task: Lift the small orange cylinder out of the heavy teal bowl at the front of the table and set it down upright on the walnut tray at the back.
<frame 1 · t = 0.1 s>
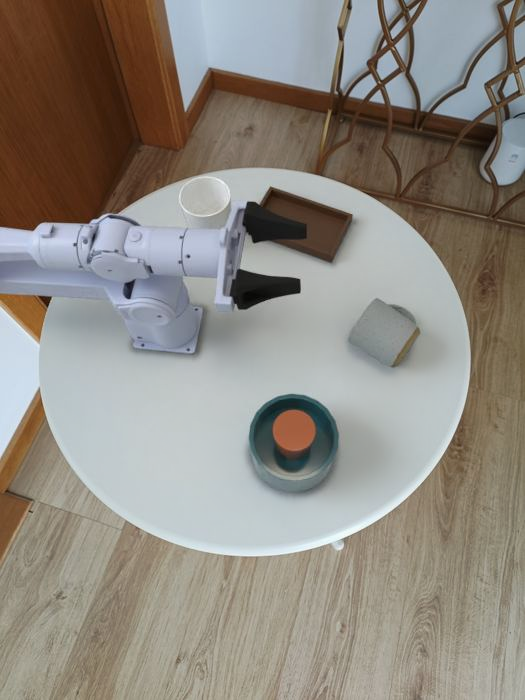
hand: (303, 258, 62), 22 cm above the table, tool horizontal, fingers open, 7 cm apart
white cup: (212, 237, 90), on the table
ceramic mug: (383, 338, 81), on the table
orange cylinder: (292, 443, 70), point 4 cm above the table, touching teal bowl
teal bowl: (292, 451, 74), on the table
tray: (299, 227, 90), on the table
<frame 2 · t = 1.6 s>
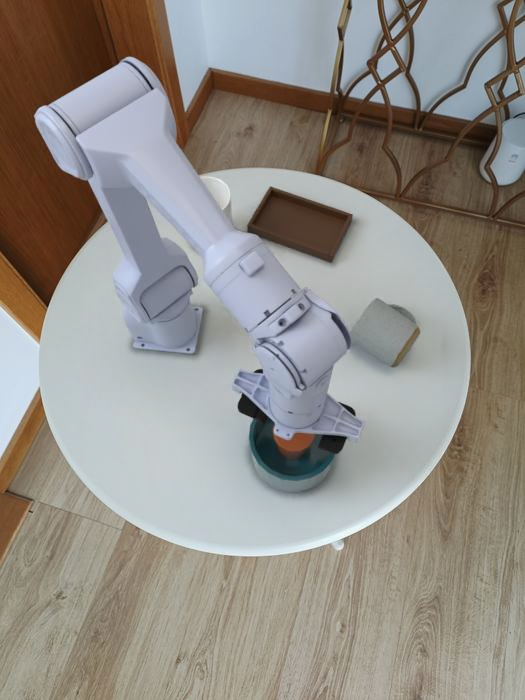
hand: (294, 428, 64), 10 cm above the table, tool pointing down, fingers open, 7 cm apart
nothing on the table moved.
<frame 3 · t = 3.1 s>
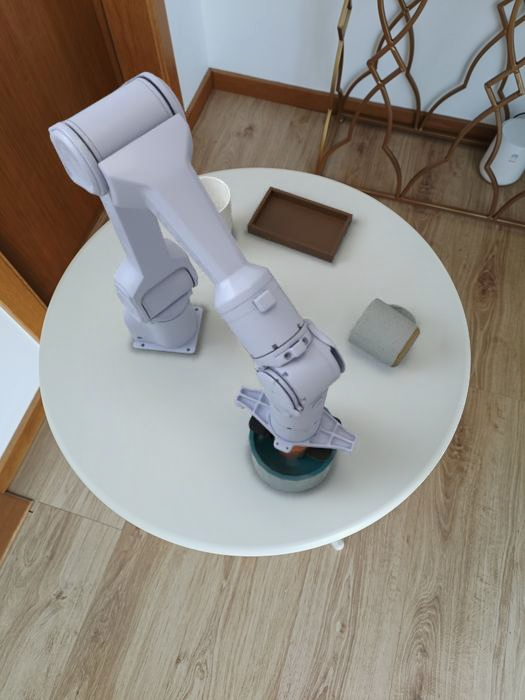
hand: (293, 440, 69), 5 cm above the table, tool pointing down, fingers closed on orange cylinder, 5 cm apart
orange cylinder: (293, 443, 70), point 4 cm above the table, touching teal bowl, gripper
everything else where it was.
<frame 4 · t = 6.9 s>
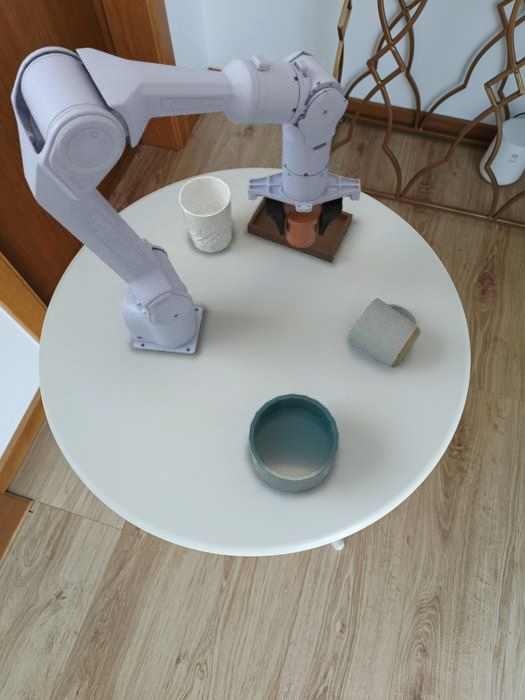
hand: (301, 229, 77), 10 cm above the table, tool pointing down, fingers closed on orange cylinder, 5 cm apart
orange cylinder: (301, 235, 78), point 9 cm above the table, touching gripper
everything else where it was.
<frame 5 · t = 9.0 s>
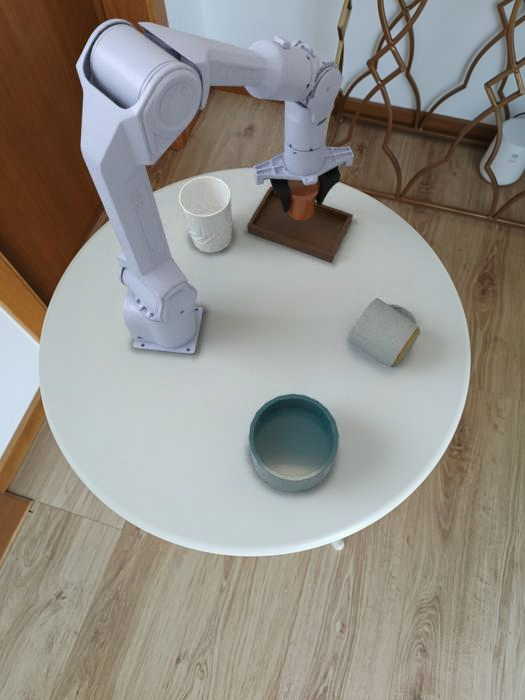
hand: (301, 204, 85), 6 cm above the table, tool pointing down, fingers closed on orange cylinder, 5 cm apart
orange cylinder: (301, 209, 86), point 4 cm above the table, touching gripper
everything else where it was.
when the fingers open (2 cm above the table, at t = 10.7 s): orange cylinder stays where it is, resting on tray.
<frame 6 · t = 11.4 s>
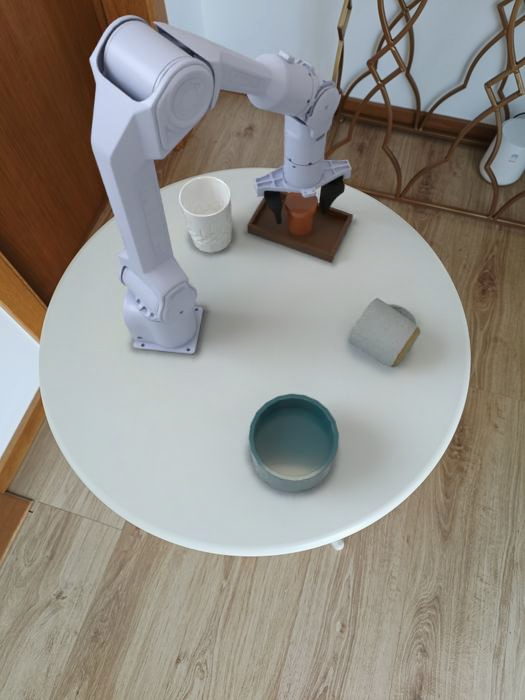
hand: (300, 214, 87), 3 cm above the table, tool pointing down, fingers open, 7 cm apart
orange cylinder: (300, 225, 90), resting on tray
everything else where it was.
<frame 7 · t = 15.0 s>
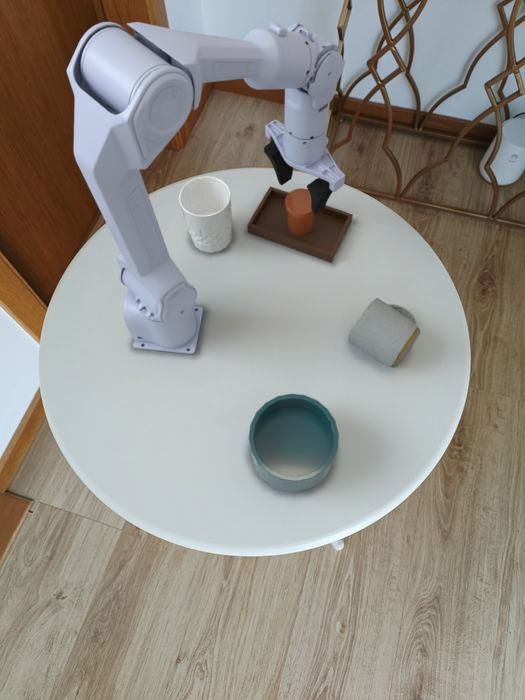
hand: (301, 195, 83), 8 cm above the table, tool pointing down, fingers open, 7 cm apart
nothing on the table moved.
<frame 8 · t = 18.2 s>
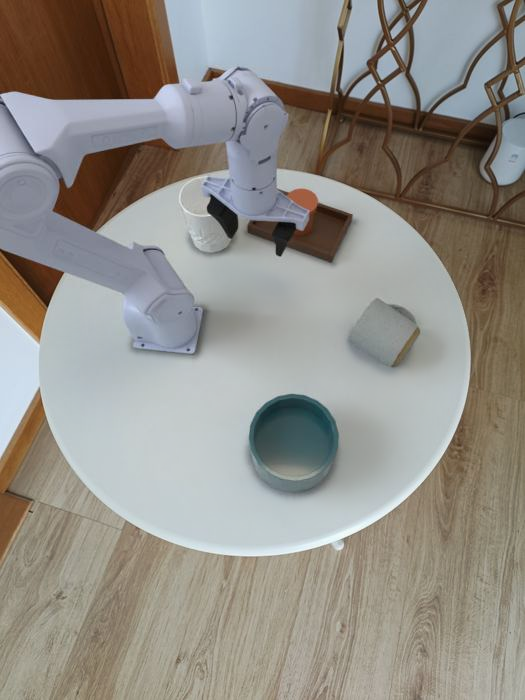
hand: (256, 241, 77), 10 cm above the table, tool pointing down, fingers open, 7 cm apart
nothing on the table moved.
at the end: orange cylinder 0.0 cm off-centre in the tray, point 0.5 cm above the tray's base; orange cylinder tilted 0°; the gripper is holding nothing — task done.
